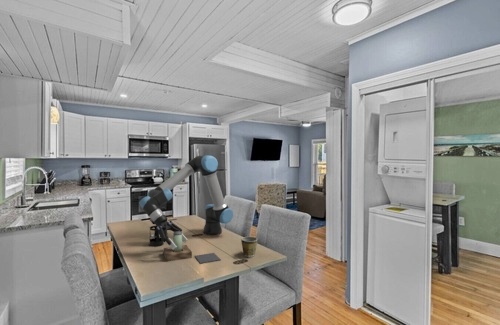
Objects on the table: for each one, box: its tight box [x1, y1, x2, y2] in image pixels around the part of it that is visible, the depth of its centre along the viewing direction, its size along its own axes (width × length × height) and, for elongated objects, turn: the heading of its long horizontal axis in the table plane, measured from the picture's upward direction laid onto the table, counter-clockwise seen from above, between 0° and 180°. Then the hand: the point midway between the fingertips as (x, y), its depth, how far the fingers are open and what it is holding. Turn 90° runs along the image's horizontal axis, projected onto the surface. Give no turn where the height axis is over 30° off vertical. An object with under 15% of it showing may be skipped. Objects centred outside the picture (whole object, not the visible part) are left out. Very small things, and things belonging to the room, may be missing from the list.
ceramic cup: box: [240, 236, 258, 258], centre depth 156 cm, size 13×10×10 cm
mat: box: [194, 252, 222, 265], centre depth 148 cm, size 12×12×1 cm
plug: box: [172, 231, 183, 252], centre depth 152 cm, size 5×5×14 cm
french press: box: [148, 219, 165, 248], centre depth 172 cm, size 12×9×23 cm
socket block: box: [163, 244, 193, 262], centre depth 152 cm, size 14×14×4 cm
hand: (180, 244), depth 152 cm, fingers open, 13 cm apart
